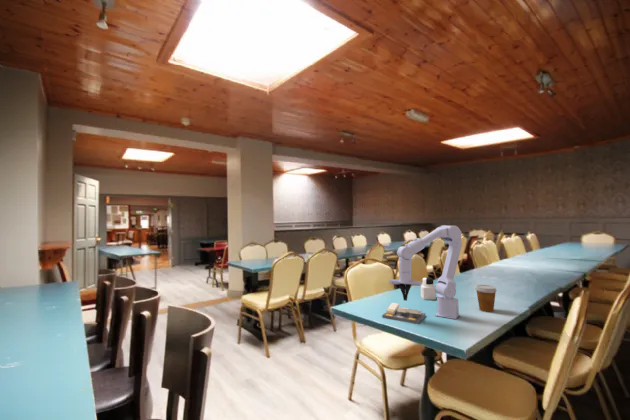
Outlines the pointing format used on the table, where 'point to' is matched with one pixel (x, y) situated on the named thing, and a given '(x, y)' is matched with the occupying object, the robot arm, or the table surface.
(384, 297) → the table surface
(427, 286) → the medicine bottle
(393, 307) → the rocker
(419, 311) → the block
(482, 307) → the disposable coffee cup
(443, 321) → the table surface
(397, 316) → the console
